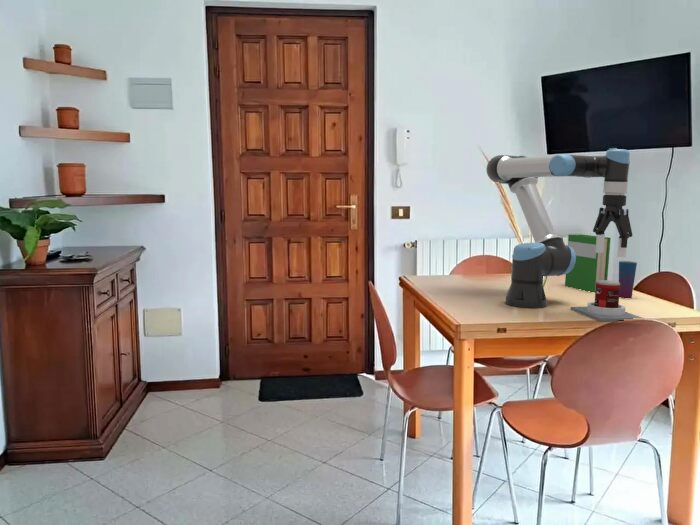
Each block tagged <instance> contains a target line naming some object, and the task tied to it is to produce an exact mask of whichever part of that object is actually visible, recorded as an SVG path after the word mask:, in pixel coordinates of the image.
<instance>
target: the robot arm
mask: <svg viewBox="0 0 700 525" xmlns="http://www.w3.org/2000/svg"><path fill="white" fill-rule="evenodd" d="M629 170H630V151H629V150H627V149H624V148H622V149H621V148H620V149H619V148H618V149H617V148H615V149H614V148H613V149H607V150H606V153H605V155H579V154H578V155H576V154H568V153H559V154H555V155H542V156H540V155H539V156H526V155H518V156H517V155H507V154H500V155H499V154H498V155H496V156H494V157H491V158H490V160H489V161H488V162H487V165H486V174H487V177H488V178H489V179H490V180H491V181H492V182H494V183H496V182H499V183H498V184H502V185H503V184H504V185H506V184H507V186H508V188H509V190H510V192H511V193H513V194H515V196H516V197H517V200H518V204H519V205H520V208H521V211H522V213H523V215H524V218H525V220H526V222H527V226H528V228H529V231H530V233H531V236H532V238H533V240H534V242H524V243H518V244H517V245H515V246H514V248H513V252H512V256H511V257H512V260H511V261H512V262H511V263H512V264H511V266H512V267H511V281H510V282H511V283H510V285H509V289H508V291H507V293H506V295H505V304H506V305H509V306H513V307H517V308H518V307H520V308H528V309H529V308H530V309H532V308H533V309H537V308H538V309H539V308H544V307H545V308H546V307H547V302H548V300H547V297H546V293H545V289H544V288H545V287H544V277H553V276H554V277H555V276H556V277H560V276H566V274H568V273H569V272H570V271H571V270H572V269H573V268H574V264H575V262H576V255H575V252H574V250H573V248H571V247H569V246H568V244H566V243H565V241H564V240H563V237H561V236H559V235H557V233H556V231H555V229H554V226H553V224H552V221H551V218H550V216H549V213H548V212H547V209H546V207H545V204H544V201H543V200H542V197H541V194H540V192H539V190H538V188H537V184H538V181H539V180H538V178H546V177H549V178H550V177H551V178H552V177H578V178H589V179H590V178H604V180H603V192H602V193H603V195H602V205H603V206H605V207H599V210H598V215H597V218H596V219H595V220H596V221H595V224H594V227H593V228H592V232H593V233H595V236H596V251H595V253H603V251H604V238H605V237H606V236H605V234H606V233H605V231H606V229H607V228H608V227H609V225H610V223H611V222H613V223H614V224H615V226H616V230H617V232H618V235H619V237H618V242H617V252H616V257H617V258H626V256H627V248H628V239H630V238H631V237H633V231H632V227H631V220H630V216H629V208H623V207H625V206H626V205H627V195H625V194H627V192H628V181H629V179H628V178H629V177H628V176H629Z"/></svg>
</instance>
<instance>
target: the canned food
mask: <svg viewBox="0 0 700 525" xmlns="http://www.w3.org/2000/svg"><path fill="white" fill-rule="evenodd" d="M619 293H620V283H619V281H615V280H609V279H607V280H598V281H596V289H595V293H594V302H595V304H594V306H597V307H603V308H618V305H619V304H620V303H619V302H620V298H619Z"/></svg>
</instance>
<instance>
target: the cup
mask: <svg viewBox="0 0 700 525" xmlns="http://www.w3.org/2000/svg"><path fill="white" fill-rule="evenodd" d="M637 264H638V262H636V261H631V260H630V261H629V260H619V261H618V282H619V283H620V293H619V297H621V299H625V298H631V299H632V298H633V292H634V286H635V280H636V279H635V277H636V272H637Z"/></svg>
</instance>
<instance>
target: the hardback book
mask: <svg viewBox="0 0 700 525" xmlns="http://www.w3.org/2000/svg"><path fill="white" fill-rule="evenodd" d="M567 245H568V246H569V247H571V248H573V250H574V252H575V255H576V262H575V264H574V268H573V269H572V270H571V271H570V272H569V273H568V274H565V278H564V279H565V280H564V287H566V286H568V287H567V288H570V287H572V288H571V289H575V288H576V289H575V290H579V289H581V290H580V291H583V290H585V291H584V292H588V291H590V292H589V293H592V292H595V289H596V281H598V280H608V274H609V261H610V250H611V237H607V236H605V238H604V251H603V253H595V251H596V235H591V234H590V235H589V234H580V233H579V234H577V233H576V234H573V233H572V234H571V233H570V234H568V236H567Z"/></svg>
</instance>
